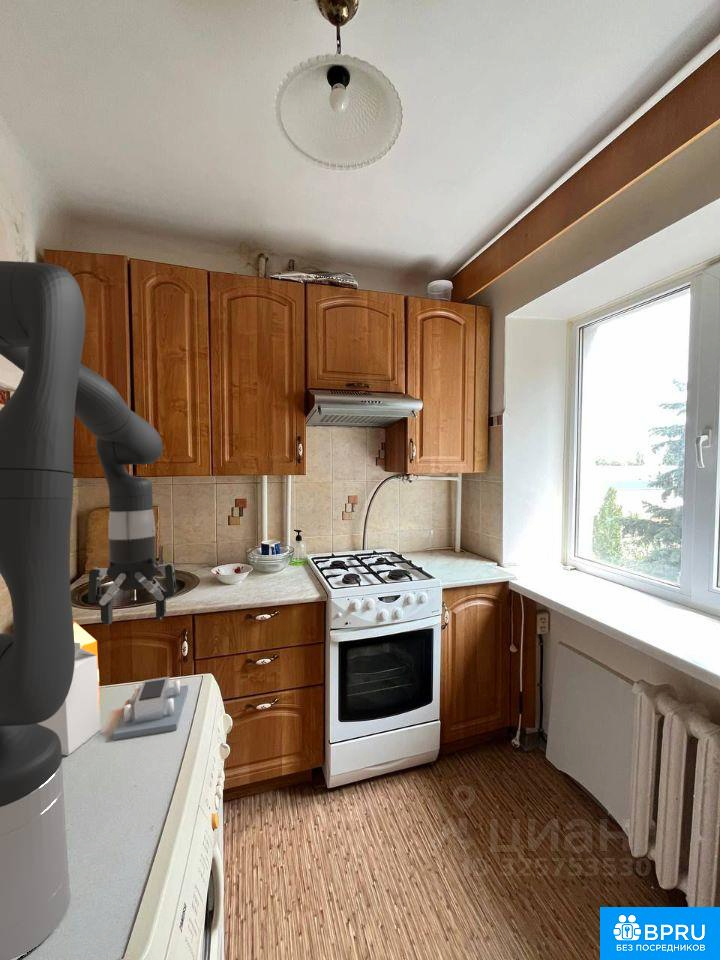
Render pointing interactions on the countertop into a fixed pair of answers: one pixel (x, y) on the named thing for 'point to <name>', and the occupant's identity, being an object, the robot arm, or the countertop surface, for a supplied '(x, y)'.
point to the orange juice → (86, 643)
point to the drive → (152, 700)
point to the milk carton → (78, 705)
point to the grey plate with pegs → (168, 723)
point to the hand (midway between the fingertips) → (134, 621)
